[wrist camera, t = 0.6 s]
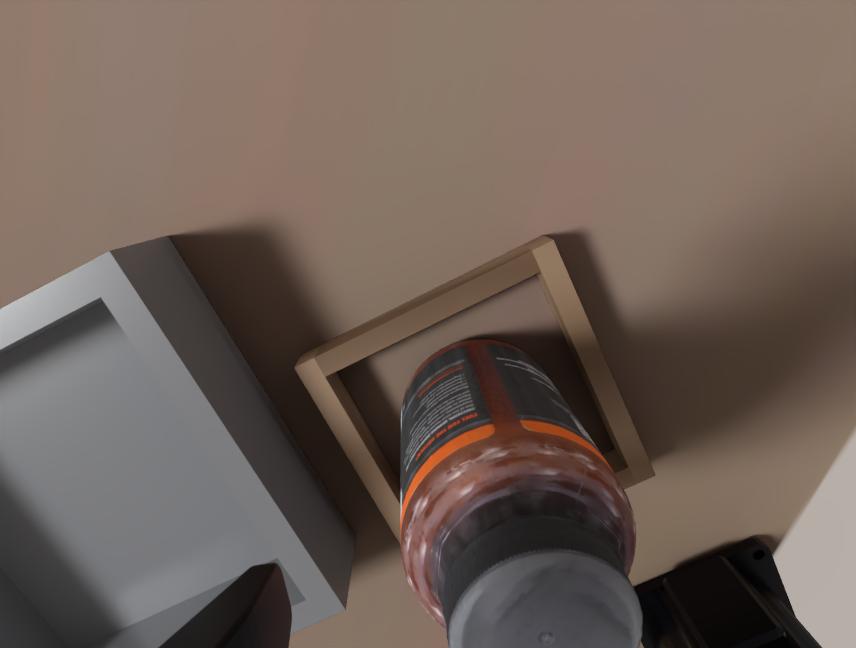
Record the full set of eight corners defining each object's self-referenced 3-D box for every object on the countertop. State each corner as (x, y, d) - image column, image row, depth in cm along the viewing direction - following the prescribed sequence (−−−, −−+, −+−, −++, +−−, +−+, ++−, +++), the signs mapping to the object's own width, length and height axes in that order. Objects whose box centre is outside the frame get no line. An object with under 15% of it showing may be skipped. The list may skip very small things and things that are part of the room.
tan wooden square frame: (639, 455, 23) (655, 475, 21) (420, 554, 24) (421, 579, 22) (543, 235, 20) (553, 239, 19) (301, 354, 21) (293, 367, 20)
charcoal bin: (356, 537, 23) (345, 609, 19) (74, 665, 25) (12, 757, 21) (167, 235, 20) (109, 251, 16) (-149, 403, 21) (-274, 455, 17)
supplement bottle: (380, 448, 22) (352, 713, 11) (432, 312, 21) (457, 465, 10) (517, 492, 23) (615, 780, 12) (576, 363, 22) (747, 559, 11)
